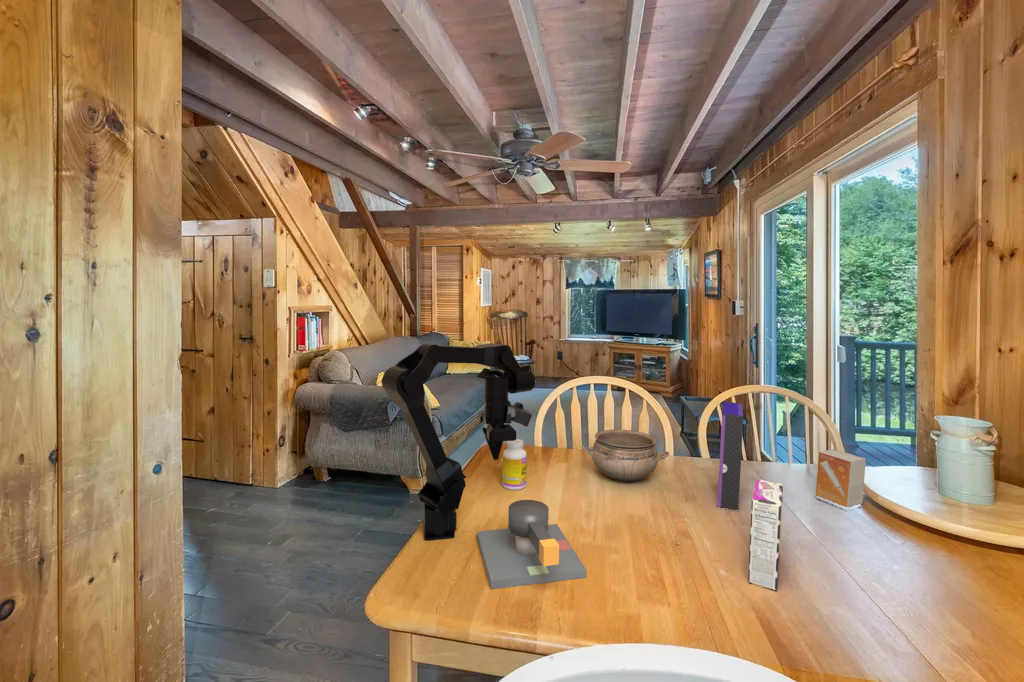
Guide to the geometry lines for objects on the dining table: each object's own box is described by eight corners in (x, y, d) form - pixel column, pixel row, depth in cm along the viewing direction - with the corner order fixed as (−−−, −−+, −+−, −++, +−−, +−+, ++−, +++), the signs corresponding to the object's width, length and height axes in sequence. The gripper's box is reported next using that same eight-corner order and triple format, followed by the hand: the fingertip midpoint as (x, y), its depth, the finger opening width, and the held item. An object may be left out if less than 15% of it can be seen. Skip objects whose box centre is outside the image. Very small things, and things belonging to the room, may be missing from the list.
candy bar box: (750, 555, 93) (755, 477, 91) (779, 563, 90) (784, 483, 89) (745, 583, 83) (750, 497, 82) (777, 593, 80) (783, 503, 79)
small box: (814, 499, 120) (818, 451, 119) (830, 495, 123) (833, 448, 122) (847, 511, 113) (851, 461, 112) (862, 507, 116) (866, 458, 114)
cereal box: (718, 483, 130) (723, 401, 128) (737, 486, 128) (741, 403, 126) (717, 507, 114) (722, 414, 113) (738, 511, 112) (743, 416, 110)
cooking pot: (663, 470, 140) (665, 431, 139) (672, 495, 121) (674, 451, 120) (582, 463, 145) (583, 426, 144) (578, 486, 126) (579, 443, 125)
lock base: (491, 589, 80) (491, 558, 80) (477, 537, 98) (477, 512, 97) (586, 577, 84) (587, 548, 84) (556, 530, 102) (557, 505, 101)
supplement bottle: (523, 492, 122) (524, 445, 121) (500, 489, 124) (500, 443, 123) (527, 482, 129) (528, 438, 128) (505, 480, 130) (505, 436, 129)
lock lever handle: (503, 521, 93) (504, 501, 93) (540, 517, 95) (540, 498, 95) (529, 568, 77) (529, 544, 76) (572, 562, 79) (573, 539, 79)
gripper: (539, 403, 101) (537, 471, 102) (520, 388, 119) (519, 445, 120) (489, 404, 99) (489, 474, 100) (478, 389, 117) (477, 448, 118)
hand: (495, 459), depth 110 cm, fingers closed
